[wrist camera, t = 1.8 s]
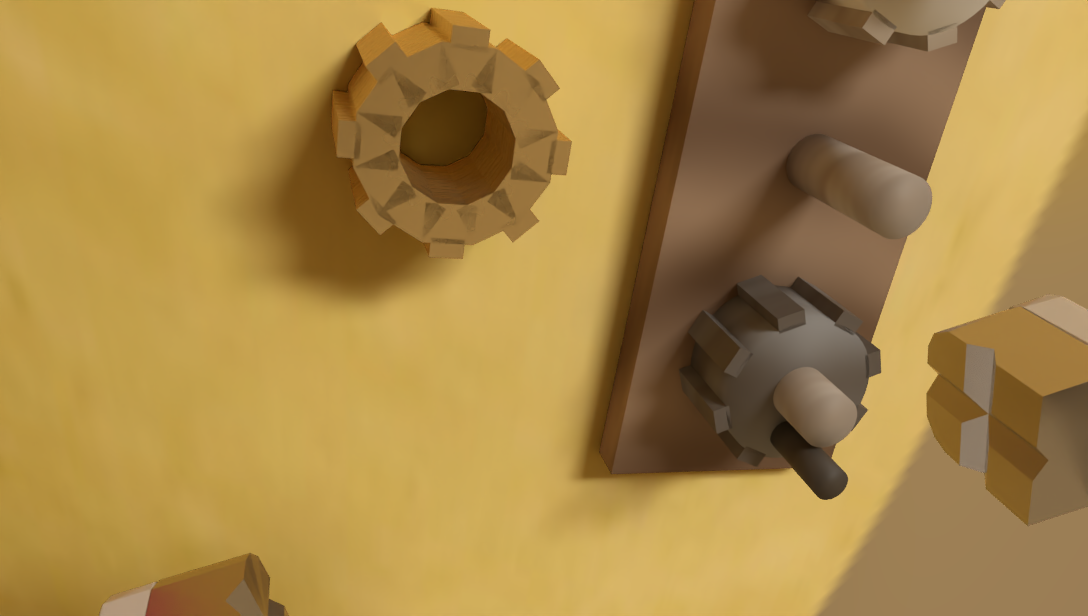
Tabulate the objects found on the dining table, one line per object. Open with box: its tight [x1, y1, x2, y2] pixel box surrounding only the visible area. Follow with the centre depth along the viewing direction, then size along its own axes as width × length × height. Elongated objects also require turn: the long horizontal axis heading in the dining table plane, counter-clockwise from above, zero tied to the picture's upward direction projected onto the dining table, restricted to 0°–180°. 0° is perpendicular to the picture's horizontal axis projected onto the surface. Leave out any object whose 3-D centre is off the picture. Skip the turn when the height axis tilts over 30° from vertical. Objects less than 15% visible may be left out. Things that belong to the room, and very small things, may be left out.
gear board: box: [599, 0, 1005, 500], centre depth 27 cm, size 26×10×8 cm, turn 172°
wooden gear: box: [331, 8, 572, 259], centre depth 25 cm, size 6×6×4 cm
